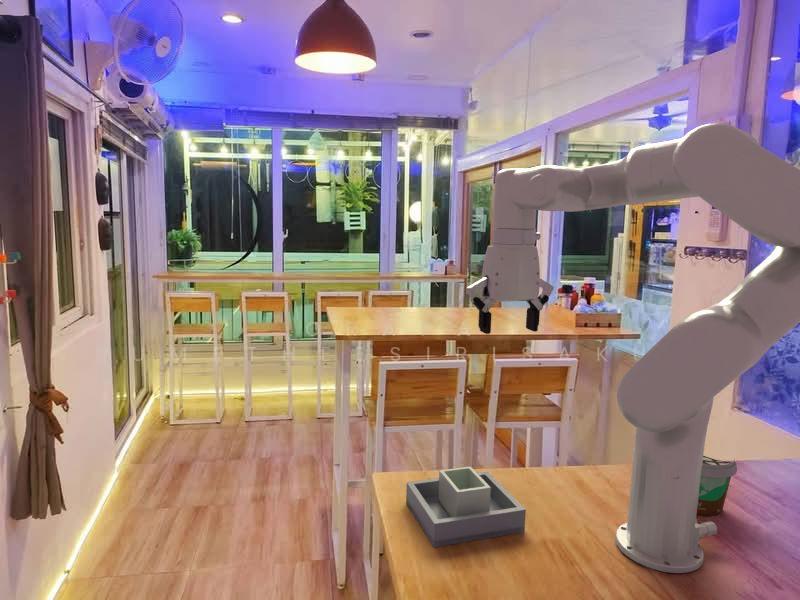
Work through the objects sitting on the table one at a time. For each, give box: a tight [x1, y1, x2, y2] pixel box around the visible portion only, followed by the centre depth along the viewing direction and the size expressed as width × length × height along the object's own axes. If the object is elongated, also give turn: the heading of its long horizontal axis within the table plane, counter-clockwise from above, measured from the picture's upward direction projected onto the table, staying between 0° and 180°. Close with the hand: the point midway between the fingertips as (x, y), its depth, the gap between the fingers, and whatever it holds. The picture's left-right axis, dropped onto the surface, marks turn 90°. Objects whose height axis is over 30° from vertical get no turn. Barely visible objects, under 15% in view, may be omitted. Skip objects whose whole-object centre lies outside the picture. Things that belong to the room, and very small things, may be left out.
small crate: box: [438, 466, 491, 518], centre depth 96 cm, size 6×8×6 cm
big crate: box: [405, 471, 527, 548], centre depth 96 cm, size 16×14×4 cm
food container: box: [696, 455, 738, 518], centre depth 99 cm, size 12×6×10 cm, turn 62°
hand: (508, 331), depth 104 cm, fingers open, 9 cm apart
